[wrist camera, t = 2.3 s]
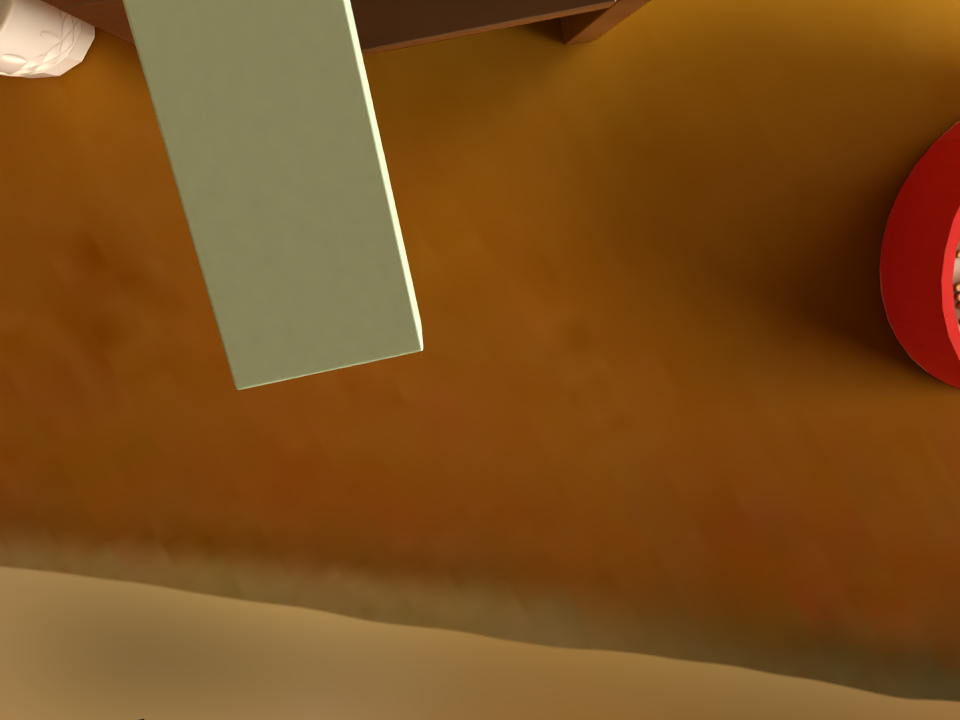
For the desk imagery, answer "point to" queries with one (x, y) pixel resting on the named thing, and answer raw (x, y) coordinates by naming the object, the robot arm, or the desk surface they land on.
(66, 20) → the white cup
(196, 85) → the pencil tin
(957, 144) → the toy clock
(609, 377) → the desk surface
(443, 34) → the shelf stand
